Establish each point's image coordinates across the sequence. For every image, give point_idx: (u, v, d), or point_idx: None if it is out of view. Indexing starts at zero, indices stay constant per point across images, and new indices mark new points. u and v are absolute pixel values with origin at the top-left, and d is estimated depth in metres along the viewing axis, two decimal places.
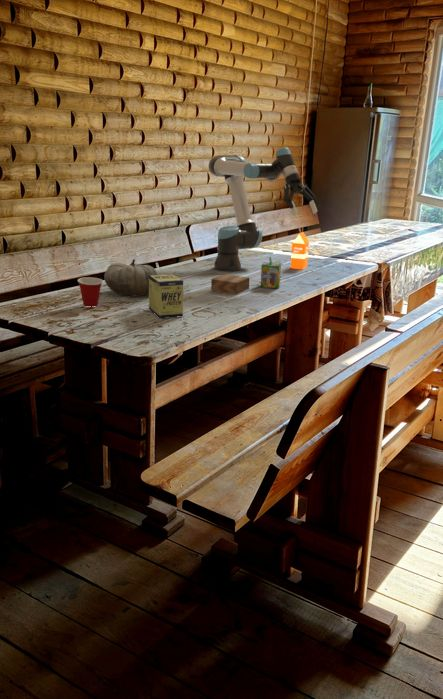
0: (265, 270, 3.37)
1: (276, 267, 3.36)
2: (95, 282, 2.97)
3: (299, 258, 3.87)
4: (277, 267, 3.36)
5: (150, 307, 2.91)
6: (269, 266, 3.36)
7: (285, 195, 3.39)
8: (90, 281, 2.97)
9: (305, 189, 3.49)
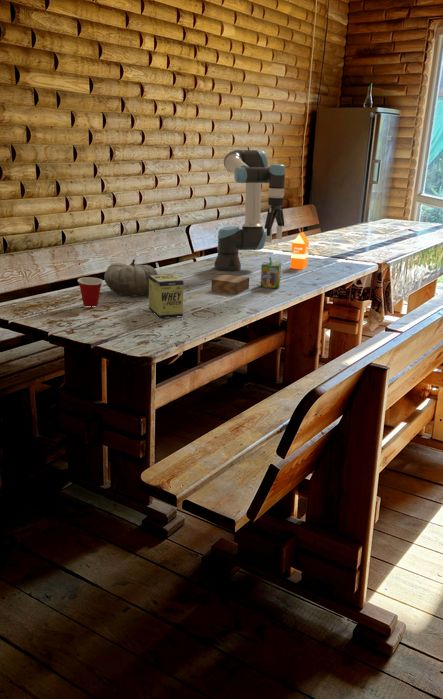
0: (265, 270, 3.37)
1: (276, 267, 3.36)
2: (95, 282, 2.97)
3: (299, 258, 3.87)
4: (277, 267, 3.36)
5: (150, 307, 2.91)
6: (269, 266, 3.36)
7: (268, 221, 3.26)
8: (90, 281, 2.97)
9: (279, 212, 3.38)
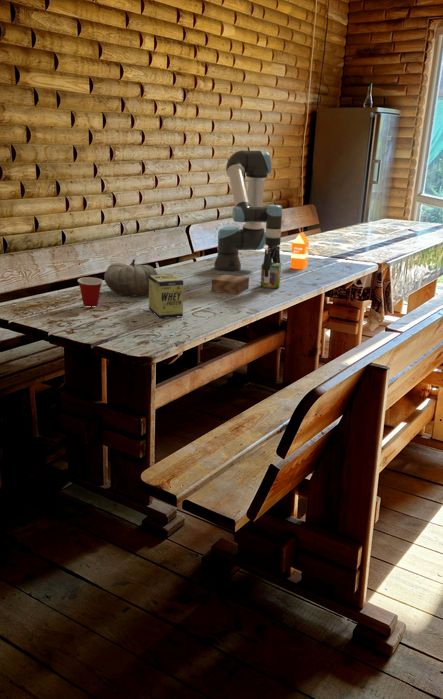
0: None
1: (276, 267, 3.36)
2: (95, 282, 2.97)
3: (299, 258, 3.87)
4: (277, 267, 3.36)
5: (150, 307, 2.91)
6: None
7: (266, 263, 3.33)
8: (90, 281, 2.97)
9: None
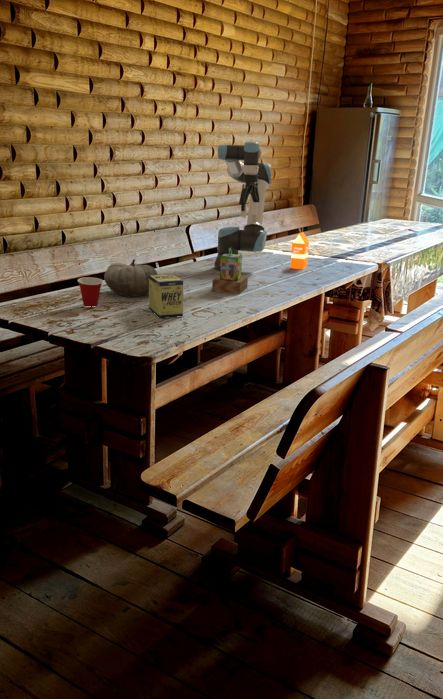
0: (224, 262, 3.26)
1: (235, 258, 3.24)
2: (95, 282, 2.97)
3: (299, 258, 3.87)
4: (236, 258, 3.24)
5: (150, 307, 2.91)
6: (228, 257, 3.25)
7: (242, 197, 3.38)
8: (90, 281, 2.97)
9: (254, 188, 3.50)
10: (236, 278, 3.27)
